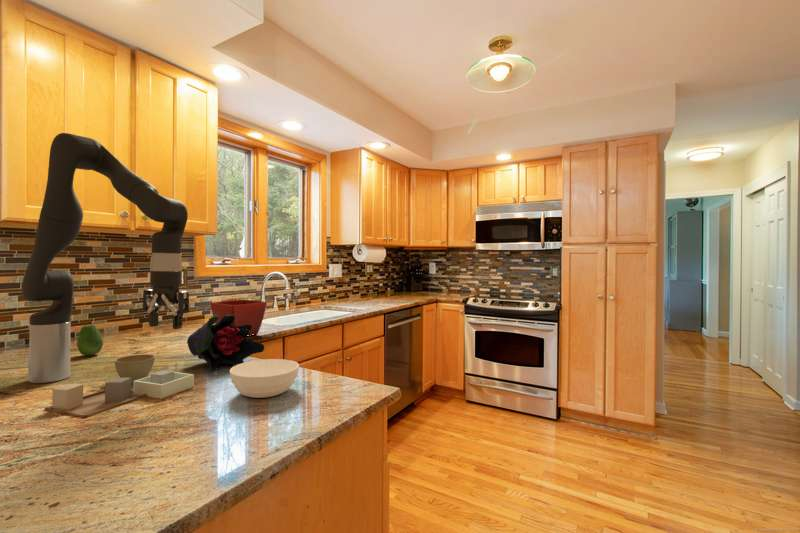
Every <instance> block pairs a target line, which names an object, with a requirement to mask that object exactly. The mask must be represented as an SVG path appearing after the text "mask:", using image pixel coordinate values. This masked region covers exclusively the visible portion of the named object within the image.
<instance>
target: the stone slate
mask: <svg viewBox="0 0 800 533" xmlns="http://www.w3.org/2000/svg"><path fill="white" fill-rule="evenodd" d="M174 372H175V370H174V371H173V370H167V369H162V370H159V371H156V372H152V373H149V376H150V383H157V384H164V383H167V382H170V381H173V380H174Z"/></svg>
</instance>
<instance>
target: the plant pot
mask: <svg viewBox="0 0 800 533" xmlns="http://www.w3.org/2000/svg"><path fill="white" fill-rule="evenodd" d="M210 308H211V313H212V316H214V315H215V314H216V315H217V316H218V317H219V318H218V320H216V322H215V323H214V324H216V323H218V322H219V321H220V320H221V319H222V317H223V316H224V315H233V316H235V318H234V321H233V322H232V324H231V326H243V325H250V326H252V328H251V330H249V334H248V335H252V334H257V335H258V334H259V331H260V329H261V326H262V323H263V320H264V316H265V312H266V308H267V301H262V300H261V301H260V300H252V299H238V300H237V299H236V300H234V299H233V300H225V301H222V300H221V301H214V302H210Z"/></svg>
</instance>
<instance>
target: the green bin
mask: <svg viewBox="0 0 800 533" xmlns="http://www.w3.org/2000/svg"><path fill="white" fill-rule="evenodd" d="M194 387H195V374H193V373H185V372H178V371H174V380H173V381H170V382H167V383H164V384H157V383H150V375H148V376H147V377H145V378H142V379H138V380H135V381H133V383H132V390H133V394H136V395H144V394H147V397H149V398H154V399H155V398H156V399H162V400H163V399H164V398H167V397H171V396H173V395H175V394H178V393H181V392H183V391H186V390H189V389H191V388H194Z"/></svg>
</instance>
